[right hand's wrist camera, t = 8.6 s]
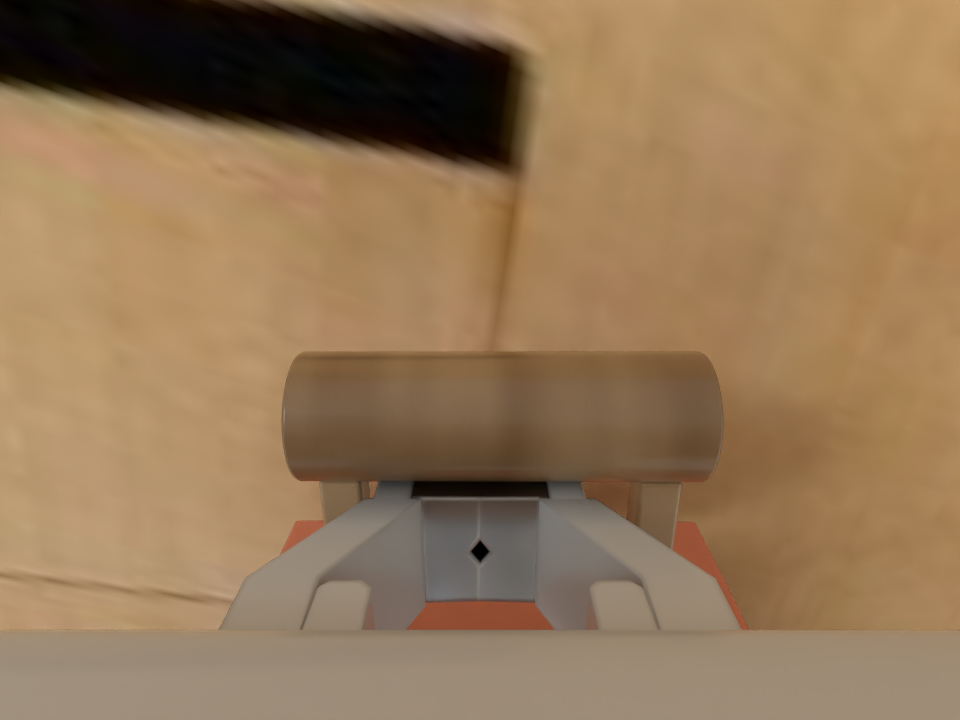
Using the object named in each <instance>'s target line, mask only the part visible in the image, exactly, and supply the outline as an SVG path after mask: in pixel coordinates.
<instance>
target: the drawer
mask: <svg viewBox="0 0 960 720" xmlns="http://www.w3.org/2000/svg"><path fill="white" fill-rule="evenodd" d="M722 438H723V407H722V398H721V392H720V387H719V383H718V379H717V376H716V373H715V370H714V368H713V365H712V364H711V362H710V360H709V359H708V358H707V357H706V356H705V355H704V354H702V353H700V352H302V353H300V354H298V355H297V356H296V357H295V359H294V361H293V362H292V364H291V367H290V369H289V372H288V376H287V379H286V384H285V389H284V395H283V403H282V440H283V448H284V453H285V458H286V462H287V465H288V468H289V470H290V472H291V474H292V476H293V477H294V478H295V479H297V480H300V481H320V483H319V487H320V495H321V503H322V511H323V519H324V521H296V522H295V524H294V526H293V528H292V530H291V533H290V535H289V537H288V539H287V541H286V543H285V545H284V548H283V550H282V552H281V554H282V553H284V552H285V551H287V550H288V549H290V548H291V547H293V546H294V545H296V544H297V543H299V542H300V541H302V540H303V539H305V538H306V537H308V536H309V535H311V534H312V533H314V532H316V531H317V530H319V529H320V528H322V527H323V526H325V525H326V524H328V523H329V522H331V521H332V520H334V519H335V518H337V517H338V516H340V515H341V514H343V513H344V512H346V511H347V510H349V509H350V508H352V507H353V506H355V505H356V504H358V503H359V502H361V501H362V500H364V499H370V491H369V481H489V482H630V490H629V500H628V509H627V520H628V521H630V522H631V523H633V524H634V525H636V526H637V527H639V528H640V529H642V530H643V531H645V532H646V533H648V534H649V535H651V536H652V537H654V538H655V539H657V540H658V541H660V542H661V543H663V544H664V545H666V546H667V547H669V548H670V549H672V550H673V551H675V552H676V553H678V554H679V555H681V556H682V557H684V558H685V559H687V560H688V561H690V562H691V563H693V564H694V565H696V566H697V567H699V568H700V569H702V570H703V571H705V572H706V573H708V574H709V575H711V576H712V577H714V578H715V579H716V580H717V582H718V584H719V586H720V588H721V590H722V592H723V594H724V596H725V598H726V600H727V602H728V604H729V606H730V608H731V610H732V611H733V613H734V615H735V617H736V619H737V621H738V623H739V625H740V627H741V629H742V630H749V628H748V626H747V624H746V622H745V620H744V618H743V616H742V614H741V612H740V611H739V609H738V607H737V605H736V603H735V601H734V599H733V597H732V595H731V593H730V591H729V589H728V587H727V585H726V583H725V581H724V579H723V577H722V575H721V573H720V571H719V569H718V567H717V565H716V563H715V561H714V559H713V557H712V555H711V553H710V551H709V549H708V547H707V545H706V543H705V541H704V539H703V537H702V535H701V533H700V532H699V530H698V528H697V526H696V524H695V523H694V522H677V515H678V508H679V501H680V494H681V487H682V484H681V482H703V481H705V480H707V479H709V478H710V477H711V476H712V474H713V473H714V471H715V469H716V466H717V464H718V460H719V457H720V452H721V446H722ZM281 554H280V555H281ZM425 604H426V606H425V607H424V608H423V610H422V611H421V612H420V613H419V614H418V616H417V617H416V618H415V619H414V621H413V622H412V623H411V624H410V625H409V627H408V628H407V629H406V630H555V629H554V628H553V627H552V626H551V624H550V623H549V622H548V621H547V620H546V618H545V617H544V616H543V615H542V613H541V612H540V611H539V610H538V609H537V607H536V606H535V603H526V602H489V601H469V602H434V603H425Z"/></svg>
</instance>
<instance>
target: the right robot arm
mask: <svg viewBox="0 0 960 720" xmlns="http://www.w3.org/2000/svg"><path fill="white" fill-rule="evenodd" d="M469 601H489V602H526V603H535V606H536V607H537V609H538V610H539V611H540V612H541V613H542V615H543V616H544V617H545V618H546V620H547V621H548V622H549V623H550V624H551V626H552V627H553V628H554V629H555V630H406V629H407V628H408V627H409V625H410V624H411V623H412V622H413V621H414V619H415V618H416V617H417V616H418V614H419V613H420V612H421V611H422V610H423V608H424V607H425V606H426V604H425V603H434V602H469ZM0 720H960V630H742V629H741V627H740V625H739V623H738V621H737V619H736V617H735V615H734V613H733V611H732V610H731V608H730V606H729V604H728V602H727V600H726V598H725V596H724V594H723V592H722V590H721V588H720V586H719V584H718V582H717V580H716V579H715V578H714V577H712V576H711V575H709V574H708V573H706V572H705V571H703V570H702V569H700V568H699V567H697V566H696V565H694V564H693V563H691V562H690V561H688V560H687V559H685V558H684V557H682V556H681V555H679V554H678V553H676V552H675V551H673V550H672V549H670V548H669V547H667V546H666V545H664V544H663V543H661V542H660V541H658V540H657V539H655V538H654V537H652V536H651V535H649V534H648V533H646V532H645V531H643V530H642V529H640V528H639V527H637V526H636V525H634V524H633V523H631V522H630V521H628V520H627V519H625V518H624V517H622V516H621V515H619V514H618V513H616V512H615V511H613V510H612V509H610V508H609V507H607V506H606V505H604V504H603V503H601V502H599V501H598V500H596V499H587V498H586V495H585V491H584V488H583V484H582V482H489V481H379V482H378V485H377V489H376V492H375V496H374V499H364V500H362V501H361V502H359V503H358V504H356V505H355V506H353V507H352V508H350V509H349V510H347V511H346V512H344V513H343V514H341V515H340V516H338V517H337V518H335V519H334V520H332V521H331V522H329V523H328V524H326V525H325V526H323V527H322V528H320V529H319V530H317V531H316V532H314V533H312V534H311V535H309V536H308V537H306V538H305V539H303V540H302V541H300V542H299V543H297V544H296V545H294V546H293V547H291V548H290V549H288V550H287V551H285V552H284V553H282V554H281V555H279V556H278V557H276V558H275V559H273V560H272V561H270V562H269V563H267V564H266V565H264V566H263V567H261V568H260V569H258V570H257V571H255V572H254V573H252V574H250V575H249V576H247V577H246V578H245V580H244V582H243V584H242V586H241V588H240V590H239V591H238V593H237V595H236V597H235V599H234V601H233V603H232V605H231V607H230V609H229V611H228V613H227V615H226V617H225V618H224V620H223V622H222V624H221V626H220V628H219V630H0Z"/></svg>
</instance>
